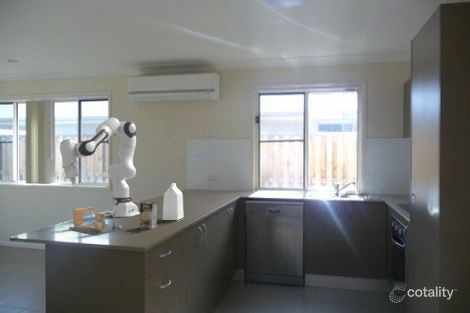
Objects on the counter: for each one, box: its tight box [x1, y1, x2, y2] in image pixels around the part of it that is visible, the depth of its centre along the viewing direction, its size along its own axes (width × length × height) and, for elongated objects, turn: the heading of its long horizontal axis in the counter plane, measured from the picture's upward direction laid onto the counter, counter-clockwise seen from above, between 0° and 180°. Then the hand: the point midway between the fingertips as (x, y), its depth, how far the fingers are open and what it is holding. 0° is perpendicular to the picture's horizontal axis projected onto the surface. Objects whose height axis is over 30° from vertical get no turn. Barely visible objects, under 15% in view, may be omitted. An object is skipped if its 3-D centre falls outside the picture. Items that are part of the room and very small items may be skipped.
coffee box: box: [139, 201, 158, 230], centre depth 225 cm, size 9×6×16 cm
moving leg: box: [72, 206, 95, 225], centre depth 223 cm, size 13×4×10 cm, turn 147°
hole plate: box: [68, 220, 126, 236], centre depth 219 cm, size 20×28×2 cm
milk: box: [162, 182, 185, 221], centre depth 254 cm, size 12×12×26 cm
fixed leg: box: [73, 210, 116, 232], centre depth 217 cm, size 13×26×11 cm, turn 57°
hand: (74, 184), depth 230 cm, fingers closed
